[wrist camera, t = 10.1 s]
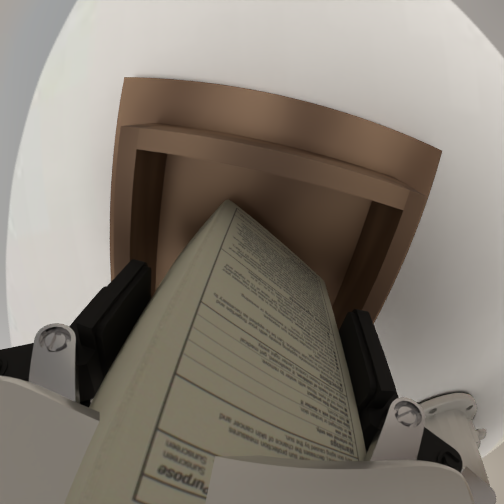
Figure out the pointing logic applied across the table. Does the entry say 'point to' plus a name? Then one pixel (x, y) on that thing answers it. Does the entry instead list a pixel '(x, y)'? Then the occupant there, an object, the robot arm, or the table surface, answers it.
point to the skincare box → (221, 373)
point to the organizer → (266, 182)
